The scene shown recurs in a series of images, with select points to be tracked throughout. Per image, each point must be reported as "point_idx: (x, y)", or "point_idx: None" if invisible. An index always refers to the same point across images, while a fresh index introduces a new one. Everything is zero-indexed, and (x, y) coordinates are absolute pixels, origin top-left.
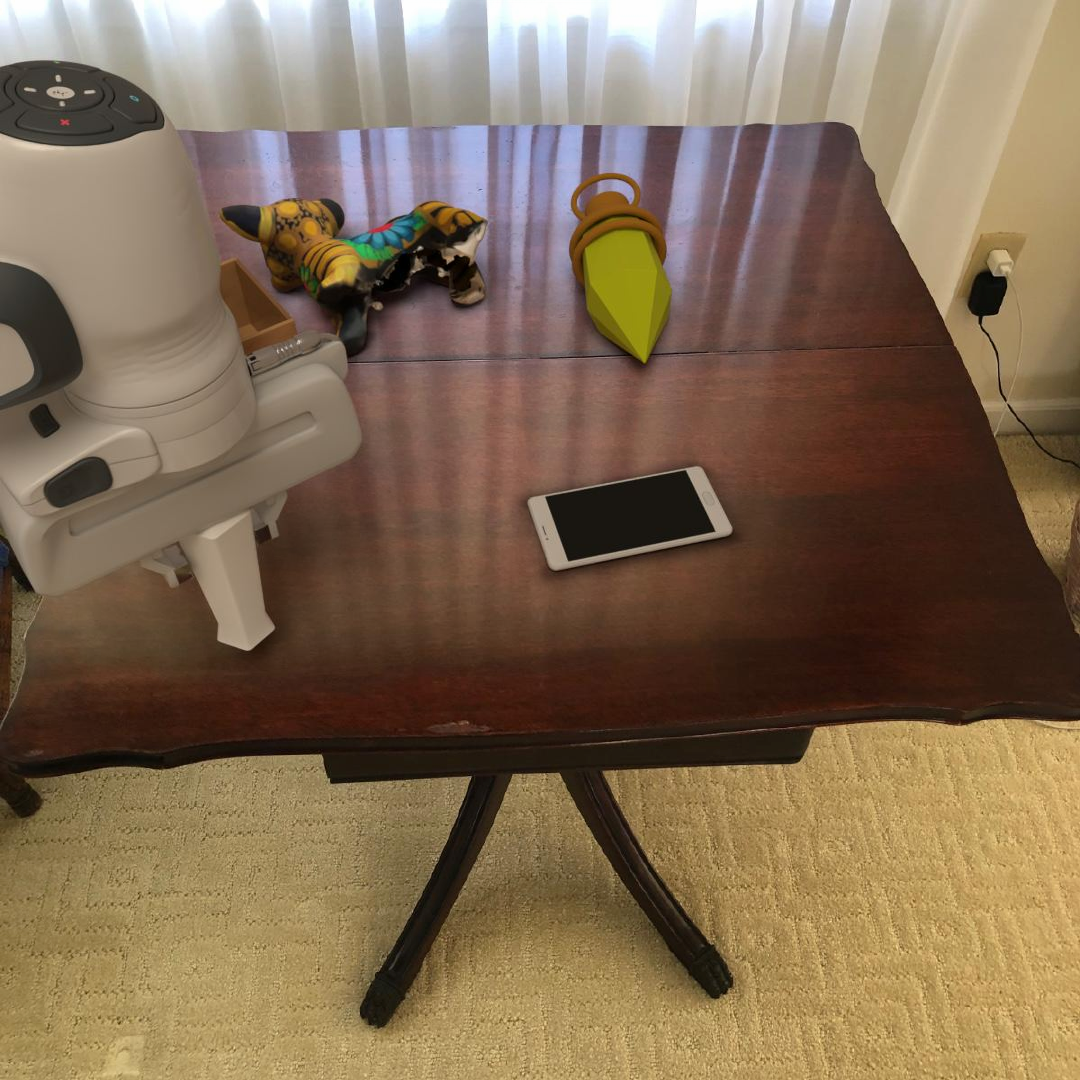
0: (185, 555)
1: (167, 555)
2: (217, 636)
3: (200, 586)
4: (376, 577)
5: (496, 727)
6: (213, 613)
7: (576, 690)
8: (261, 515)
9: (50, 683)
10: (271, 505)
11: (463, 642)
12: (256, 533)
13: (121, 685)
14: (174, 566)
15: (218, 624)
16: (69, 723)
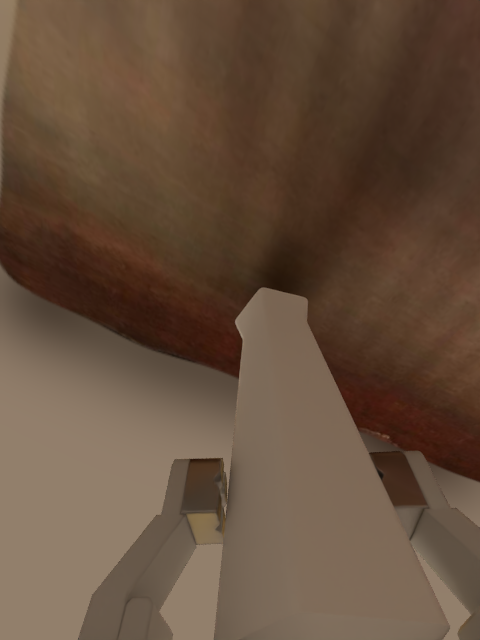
0: (227, 502)
1: (190, 524)
2: (236, 323)
3: (236, 410)
4: (454, 276)
5: (402, 448)
6: (241, 355)
7: (476, 454)
8: (421, 536)
9: (29, 209)
10: (462, 599)
11: (450, 386)
12: None
13: (117, 258)
14: (195, 541)
15: (242, 337)
16: (56, 275)
